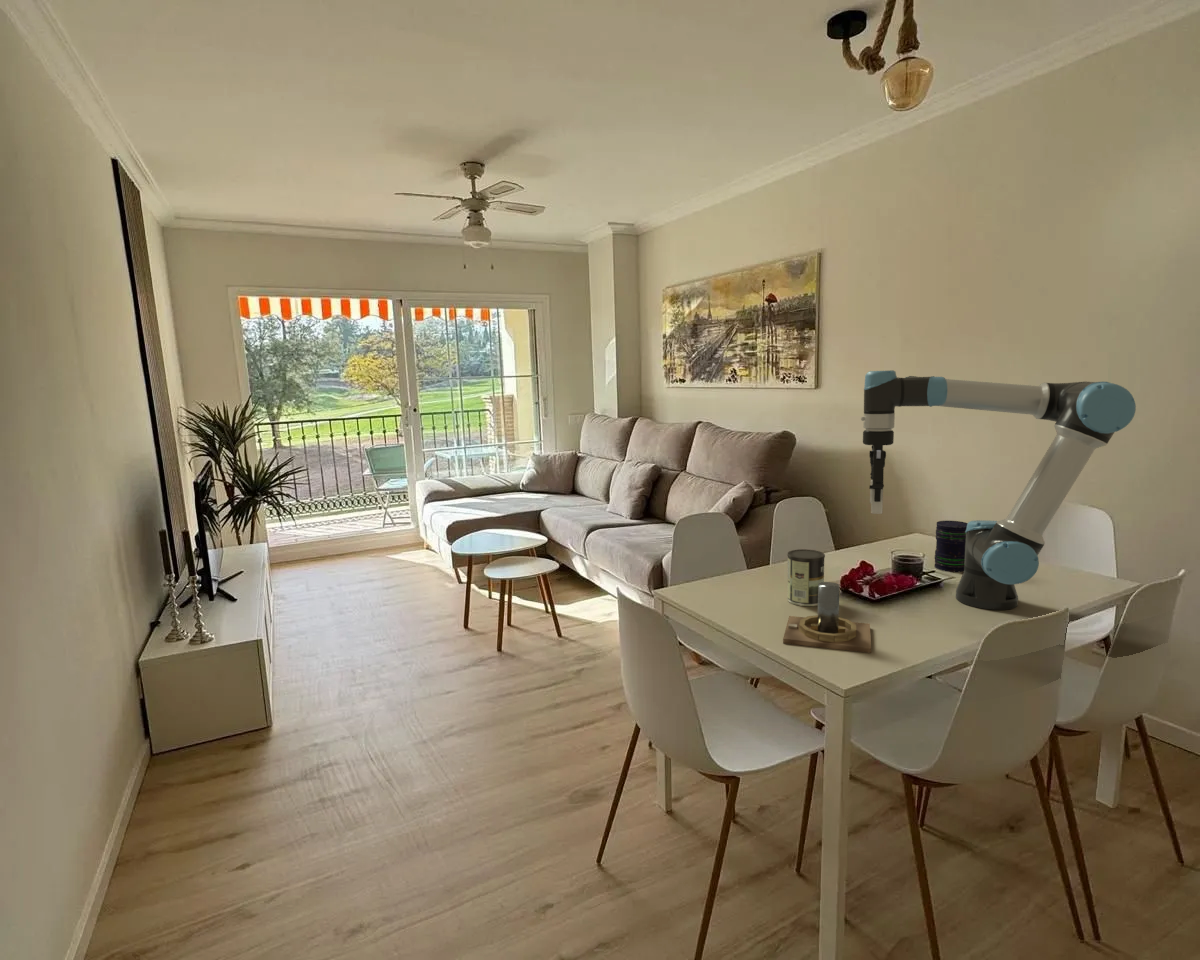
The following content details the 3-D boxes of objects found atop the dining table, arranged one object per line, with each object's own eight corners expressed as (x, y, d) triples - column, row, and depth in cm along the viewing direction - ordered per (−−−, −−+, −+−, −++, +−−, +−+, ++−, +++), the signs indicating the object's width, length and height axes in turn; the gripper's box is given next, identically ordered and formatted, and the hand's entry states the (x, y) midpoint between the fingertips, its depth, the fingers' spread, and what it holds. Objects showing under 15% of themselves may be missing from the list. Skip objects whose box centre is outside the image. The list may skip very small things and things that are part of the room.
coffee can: (821, 595, 194) (822, 549, 192) (826, 607, 184) (827, 558, 182) (785, 594, 196) (786, 548, 194) (788, 606, 186) (788, 558, 184)
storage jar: (927, 564, 220) (929, 521, 218) (955, 562, 221) (957, 519, 219) (946, 573, 210) (948, 528, 208) (974, 571, 211) (977, 526, 209)
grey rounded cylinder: (811, 625, 168) (812, 580, 166) (845, 629, 165) (846, 583, 163) (810, 632, 163) (810, 586, 161) (845, 636, 160) (846, 589, 158)
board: (869, 628, 168) (869, 617, 168) (871, 653, 153) (871, 641, 153) (789, 620, 175) (789, 610, 175) (783, 643, 161) (783, 632, 160)
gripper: (862, 425, 186) (860, 499, 189) (863, 433, 163) (861, 517, 166) (891, 425, 183) (888, 500, 186) (896, 433, 160) (893, 518, 163)
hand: (875, 508), depth 176 cm, fingers open, 13 cm apart
